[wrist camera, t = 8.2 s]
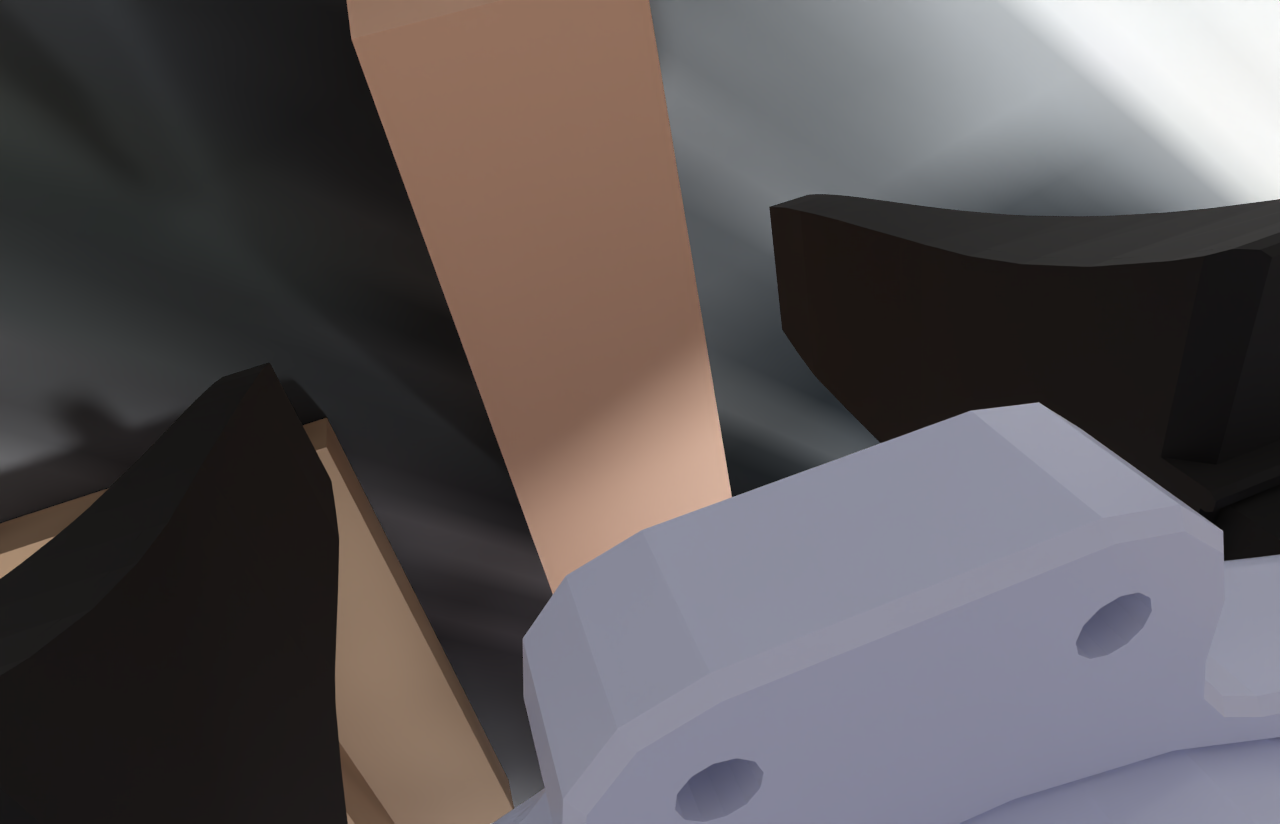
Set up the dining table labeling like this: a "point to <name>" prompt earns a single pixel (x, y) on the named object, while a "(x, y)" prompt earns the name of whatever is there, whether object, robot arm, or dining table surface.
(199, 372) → the dining table surface
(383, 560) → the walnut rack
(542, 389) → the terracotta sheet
